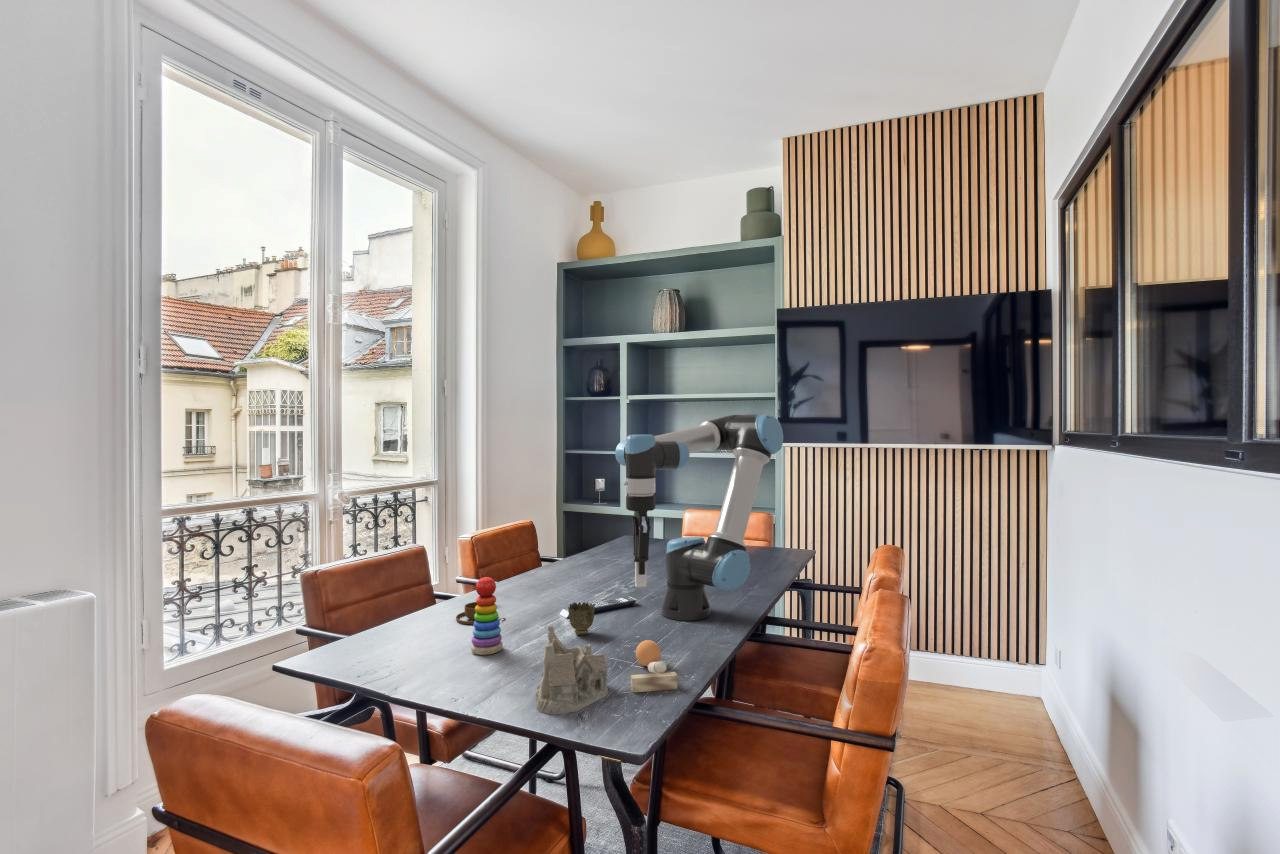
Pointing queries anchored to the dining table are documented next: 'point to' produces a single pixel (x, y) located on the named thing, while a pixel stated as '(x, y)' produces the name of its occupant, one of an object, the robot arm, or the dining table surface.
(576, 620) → the cup
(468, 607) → the place setting
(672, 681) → the stopper rail
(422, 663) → the dining table surface
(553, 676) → the ceramic cottage
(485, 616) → the stacking toy
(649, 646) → the ball
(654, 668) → the pin
